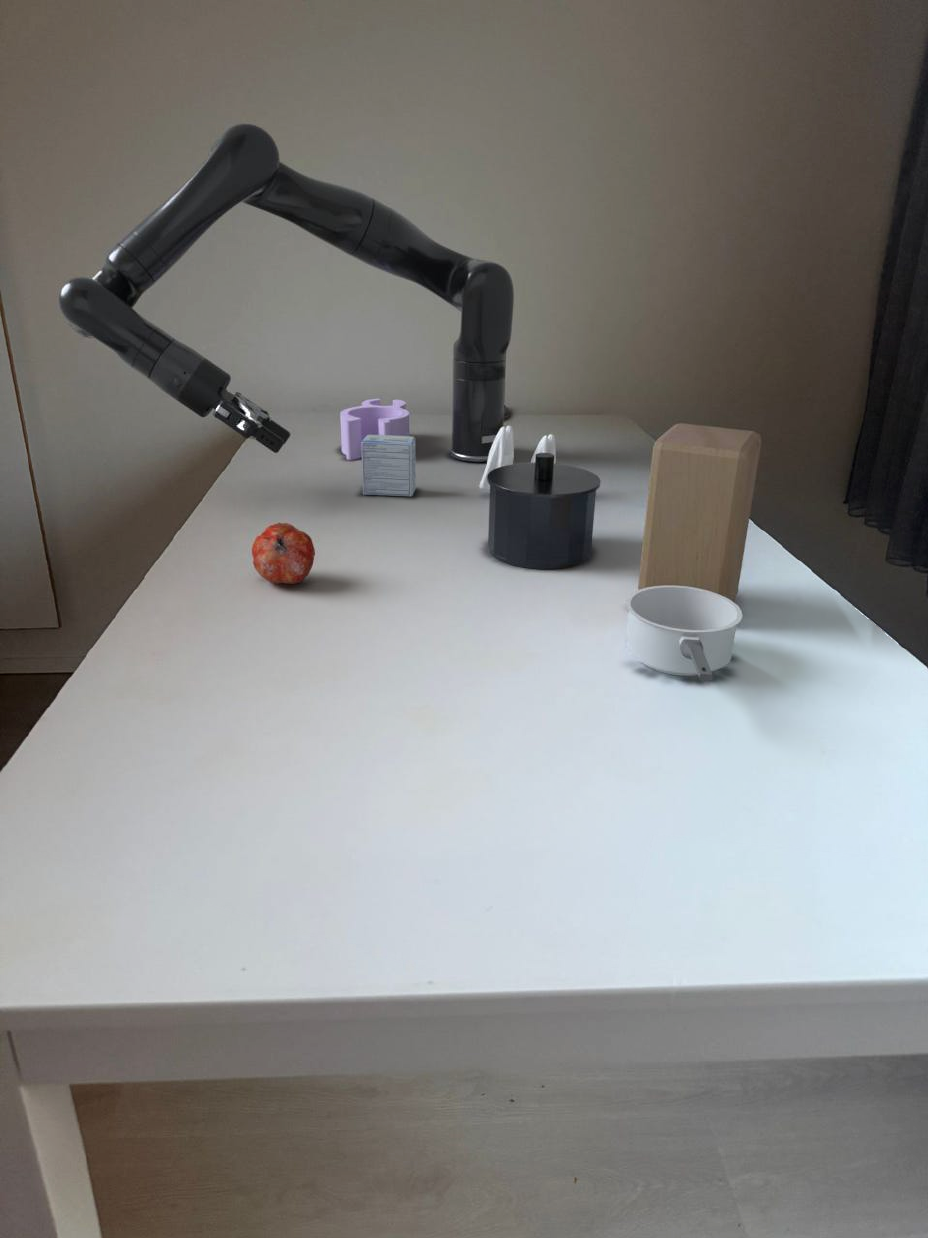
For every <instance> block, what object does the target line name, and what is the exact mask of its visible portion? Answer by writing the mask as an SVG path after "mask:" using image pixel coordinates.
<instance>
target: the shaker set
mask: <svg viewBox="0 0 928 1238" xmlns="http://www.w3.org/2000/svg"><path fill="white" fill-rule="evenodd" d="M514 445H515V444H514V431H513V427H512V426H511V425H507V426H506V427H505V426H504V427H502V428H501V429H500V430H499V432H498V434H497V435H496V437H495V440H494V442H493V444H492V447H491V449H490V452H489V455H488V461H487V462H486V466H485V469H484V472H483V475H482V477H481V480H480V482H479V488H480V489H481V491H483V492H484V493H485V494H488V495H490V485H489V483H488V481H487V475H488V473H489V472H490V471H492V470H494V469H496V468H499V467H502V466H507V465H513V464H514V457H515V456H514V455H515V448H514V447H515V446H514ZM537 453H551V454H553V455H554V464H557V462H556V461H557V459H556V458H557V455H556V438H555V435H554V434H552V433H550V434H549V435H543V436H542V438H541V439H540V441H539V443H538V444H537V446H536V449H535V450H534V453H533V455H532V457H531V461H530V463H535V456H536V454H537Z"/></svg>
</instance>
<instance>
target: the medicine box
mask: <svg viewBox="0 0 928 1238" xmlns="http://www.w3.org/2000/svg"><path fill="white" fill-rule="evenodd" d="M361 448H362V457H361V474H362V477H361V479H362V494H363V495H369V496H390V497H391V496H392V497H394V496H395V497H413V495H414V493H415V491H416V489H417V476H416V475H417V472H416V471H417V469H416V466H417V463H416V437H415V436H411V435H409V436H389V435H367V436H366V437H365V438H364V439H363V441H362V442H361Z"/></svg>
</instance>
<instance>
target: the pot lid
mask: <svg viewBox="0 0 928 1238" xmlns="http://www.w3.org/2000/svg"><path fill="white" fill-rule="evenodd" d="M487 481H488V483H489V485H491V486H492V487H494V488H495V489H498V490H500V491H503V492H506V493H510V494H514V495H519V496H525V497H535V498H568V497H576V496H582V495H586V494H589V493H592V492H594V491H596V492H597V491H598V489H600V487H601V478H600V477H599V476H598V475H597V474H595V473H594V472H592V471H589V470H587V469H584V468H581V467H577V466H574V465H573V466H572V465H567V464H566V465H565V464H561V463H556V464H554V455H553V454H551V453H537V454H536V456H535V463H531V462H523V463H513V465H507V466H502V467H499V468H496V469H494V470H492V471H490V472H489V473H488V475H487Z"/></svg>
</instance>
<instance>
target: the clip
mask: <svg viewBox="0 0 928 1238" xmlns="http://www.w3.org/2000/svg"><path fill="white" fill-rule="evenodd" d="M339 414H340V415H339V416H340V440H341V442H340V443H341V444H340V445H341V452H342V454H344V455H345V456H346V457H345V459H346V460H348V461H353V460H358V459H362V448H361V442H362V441H363V439H364V438H365V437H366V436H367V435H389V436H410V411H408V410H407V403H406V401H404V400H403V399H393V400H392V404H391V405H382V404H381V398H371V399H366V400H363V401H362V402H361V405H359V406H353V407H349V408H344V409H343V410H341V411H340V413H339Z"/></svg>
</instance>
